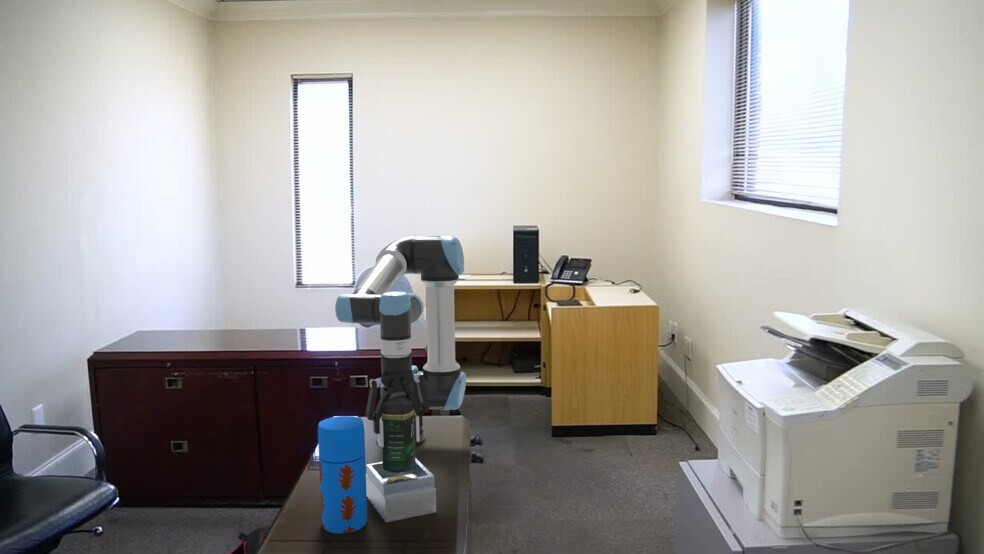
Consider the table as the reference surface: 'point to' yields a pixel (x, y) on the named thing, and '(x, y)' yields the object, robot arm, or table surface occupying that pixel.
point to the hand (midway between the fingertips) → (398, 442)
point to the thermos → (342, 474)
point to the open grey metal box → (401, 491)
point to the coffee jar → (398, 433)
